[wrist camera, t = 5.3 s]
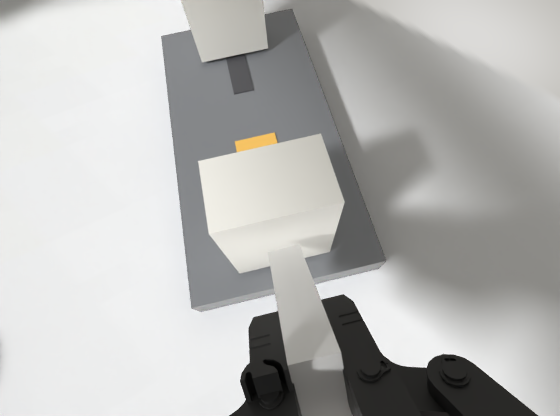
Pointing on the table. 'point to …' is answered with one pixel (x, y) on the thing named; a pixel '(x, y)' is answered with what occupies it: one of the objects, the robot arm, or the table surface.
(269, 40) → the switch plate
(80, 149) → the table surface
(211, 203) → the switch
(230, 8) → the switch
